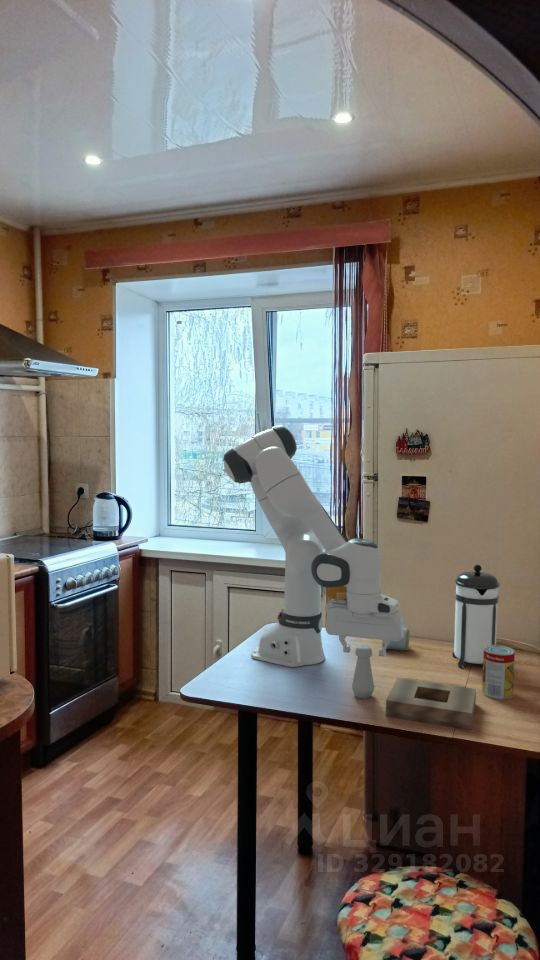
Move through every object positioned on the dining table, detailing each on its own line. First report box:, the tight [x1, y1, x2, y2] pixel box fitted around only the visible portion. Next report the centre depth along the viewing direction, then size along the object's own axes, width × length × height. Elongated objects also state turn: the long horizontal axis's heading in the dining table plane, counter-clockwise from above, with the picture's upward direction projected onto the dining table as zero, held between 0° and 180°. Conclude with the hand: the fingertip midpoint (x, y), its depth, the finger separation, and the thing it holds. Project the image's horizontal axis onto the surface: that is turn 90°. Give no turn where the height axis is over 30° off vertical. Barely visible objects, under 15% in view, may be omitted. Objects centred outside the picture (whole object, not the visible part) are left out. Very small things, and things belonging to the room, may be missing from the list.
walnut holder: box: [385, 677, 477, 731], centre depth 166 cm, size 20×16×4 cm
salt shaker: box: [351, 645, 375, 700], centre depth 174 cm, size 6×6×13 cm
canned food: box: [481, 644, 516, 700], centre depth 177 cm, size 8×8×12 cm
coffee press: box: [452, 564, 501, 669], centre depth 201 cm, size 17×16×30 cm
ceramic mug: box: [381, 626, 411, 651], centre depth 214 cm, size 11×8×8 cm
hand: (364, 653), depth 174 cm, fingers open, 8 cm apart
